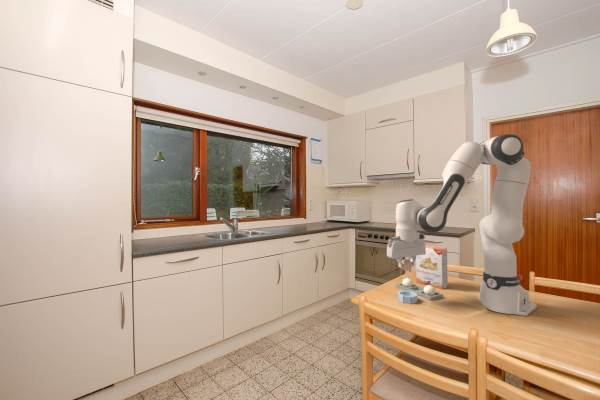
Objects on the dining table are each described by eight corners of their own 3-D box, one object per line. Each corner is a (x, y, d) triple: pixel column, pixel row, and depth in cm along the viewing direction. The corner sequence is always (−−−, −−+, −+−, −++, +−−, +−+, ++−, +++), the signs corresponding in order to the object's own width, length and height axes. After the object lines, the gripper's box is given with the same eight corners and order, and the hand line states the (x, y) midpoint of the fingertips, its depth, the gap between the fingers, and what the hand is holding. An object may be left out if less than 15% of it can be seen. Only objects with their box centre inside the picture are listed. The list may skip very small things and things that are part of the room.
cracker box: (415, 284, 146) (415, 245, 146) (421, 282, 150) (421, 244, 150) (442, 291, 135) (441, 249, 135) (448, 289, 139) (447, 248, 139)
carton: (407, 286, 143) (407, 282, 143) (443, 299, 124) (443, 294, 124) (395, 288, 140) (395, 284, 140) (430, 302, 121) (430, 297, 121)
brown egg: (406, 268, 125) (405, 257, 125) (414, 271, 121) (414, 260, 121) (397, 270, 123) (397, 259, 123) (406, 272, 118) (406, 261, 118)
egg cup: (406, 298, 127) (406, 289, 127) (421, 303, 120) (420, 294, 120) (393, 301, 123) (393, 292, 123) (407, 307, 116) (407, 297, 116)
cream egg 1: (407, 285, 141) (407, 276, 141) (415, 288, 137) (414, 278, 137) (400, 287, 139) (400, 277, 139) (407, 290, 135) (407, 280, 135)
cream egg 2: (428, 293, 129) (428, 283, 129) (437, 296, 125) (437, 286, 125) (421, 295, 127) (421, 284, 127) (430, 298, 123) (430, 287, 123)
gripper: (393, 238, 114) (394, 270, 114) (428, 235, 123) (428, 265, 123) (383, 236, 120) (383, 267, 120) (416, 233, 129) (416, 262, 129)
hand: (406, 266), depth 122 cm, fingers closed on brown egg, 5 cm apart
